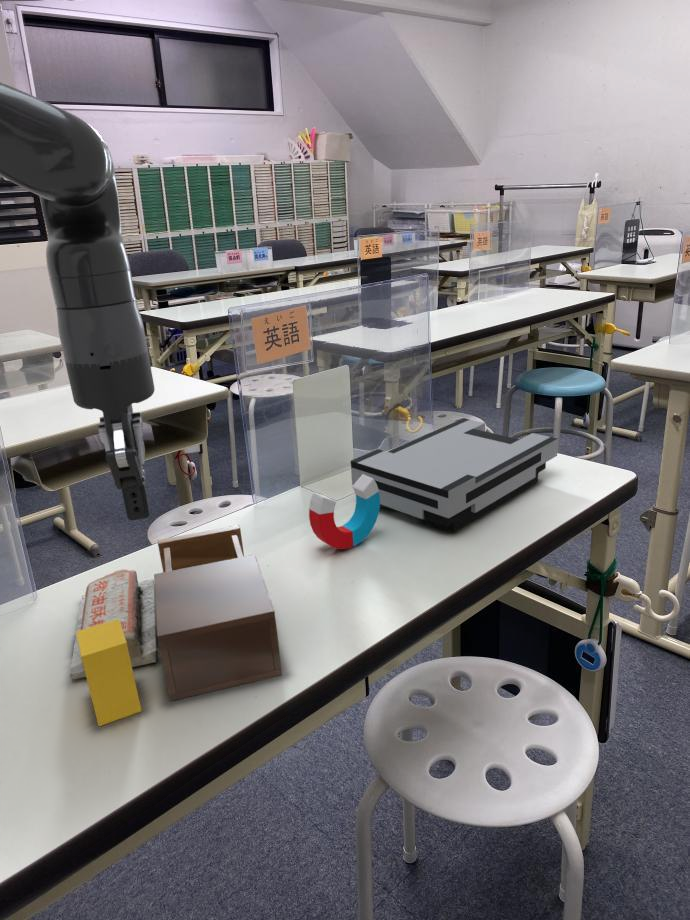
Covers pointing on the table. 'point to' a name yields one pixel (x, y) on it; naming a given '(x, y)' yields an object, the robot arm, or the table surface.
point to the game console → (455, 472)
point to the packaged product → (120, 615)
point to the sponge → (108, 671)
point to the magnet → (359, 522)
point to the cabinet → (215, 627)
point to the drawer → (200, 548)
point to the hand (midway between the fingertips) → (139, 516)
